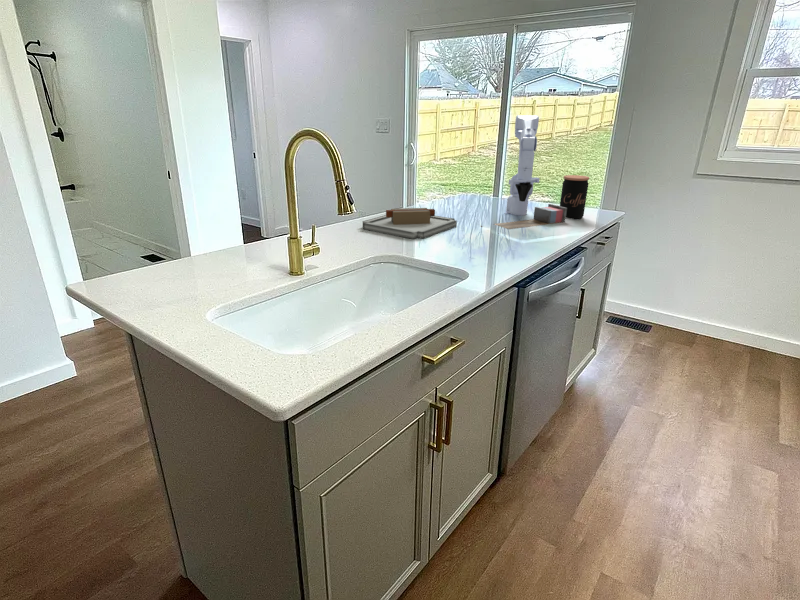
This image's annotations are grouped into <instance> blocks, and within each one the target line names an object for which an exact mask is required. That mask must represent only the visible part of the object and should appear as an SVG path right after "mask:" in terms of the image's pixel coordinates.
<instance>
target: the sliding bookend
mask: <svg viewBox="0 0 800 600" xmlns="http://www.w3.org/2000/svg"><path fill="white" fill-rule="evenodd" d="M533 211H534V212H533V218H532V219H535V220H538V221H542V222H545V223H550V218H551V211H550V210H547V209H543V208H542V207H540V206H539V207H538V206H534V210H533Z"/></svg>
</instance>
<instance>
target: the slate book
mask: <svg viewBox="0 0 800 600" xmlns="http://www.w3.org/2000/svg"><path fill="white" fill-rule="evenodd" d="M544 207H545V206H543V207H541V208H543V209H547V210H550V211H551V218H550V223H554V224H556V223H555V221H556V213H557V211H556V210H552V209H548V208H544Z"/></svg>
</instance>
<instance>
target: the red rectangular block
mask: <svg viewBox="0 0 800 600" xmlns="http://www.w3.org/2000/svg"><path fill="white" fill-rule="evenodd" d="M543 207H544V208H548V209H552V210H556V211H557V213H556V221H555V223H554V224H557V223H556V222H562V215H563V210H561V209H557V208H553V207H548V206H543ZM562 223H563V222H562Z"/></svg>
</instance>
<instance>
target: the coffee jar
mask: <svg viewBox="0 0 800 600" xmlns="http://www.w3.org/2000/svg"><path fill="white" fill-rule="evenodd" d="M589 181H590V177H589V176H585V175H581V174H580V175H578V174H573V175H572V174H569V175H568V174H567V175H563V182H562V184H561V185H562V186H561V193H560V202H559V206H561V207H565V208H567V212H566V218H567V219H571V220H574V221H577V220H578V221H579V220H581V219H582V218H584V214H585V209H586V201H587V196H588V190H589Z"/></svg>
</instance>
